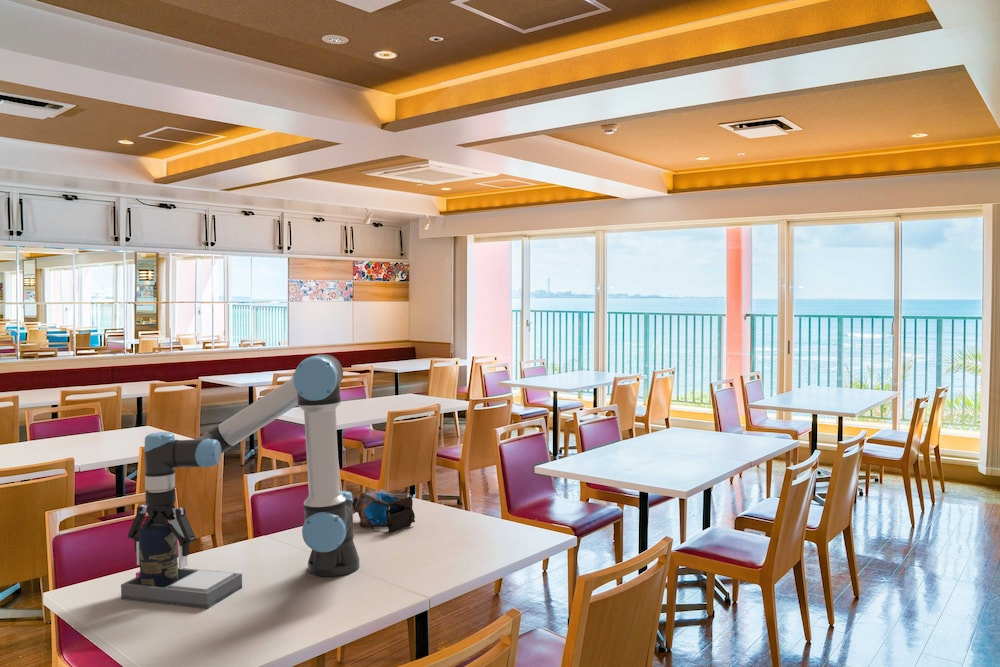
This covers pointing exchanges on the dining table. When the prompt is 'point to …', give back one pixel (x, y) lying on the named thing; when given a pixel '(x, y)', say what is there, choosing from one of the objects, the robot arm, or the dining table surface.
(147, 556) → the canister
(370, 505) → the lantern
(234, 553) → the dining table surface
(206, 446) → the robot arm
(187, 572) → the grey divided tray
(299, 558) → the dining table surface
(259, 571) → the dining table surface
